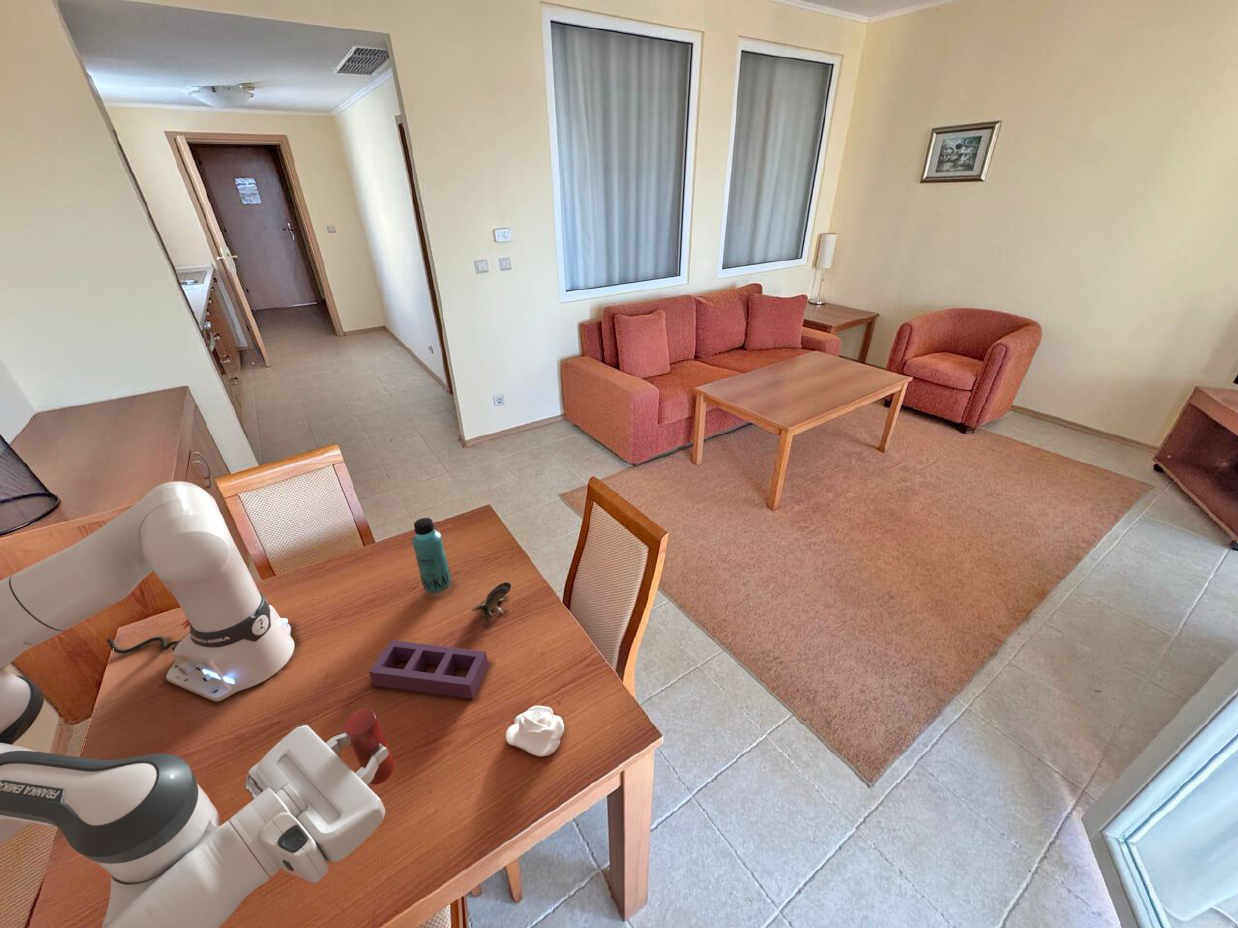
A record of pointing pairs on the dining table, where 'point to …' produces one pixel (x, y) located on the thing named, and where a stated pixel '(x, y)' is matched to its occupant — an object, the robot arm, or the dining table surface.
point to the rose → (536, 731)
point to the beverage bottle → (430, 556)
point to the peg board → (429, 682)
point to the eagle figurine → (493, 601)
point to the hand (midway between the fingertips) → (374, 738)
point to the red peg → (368, 742)
